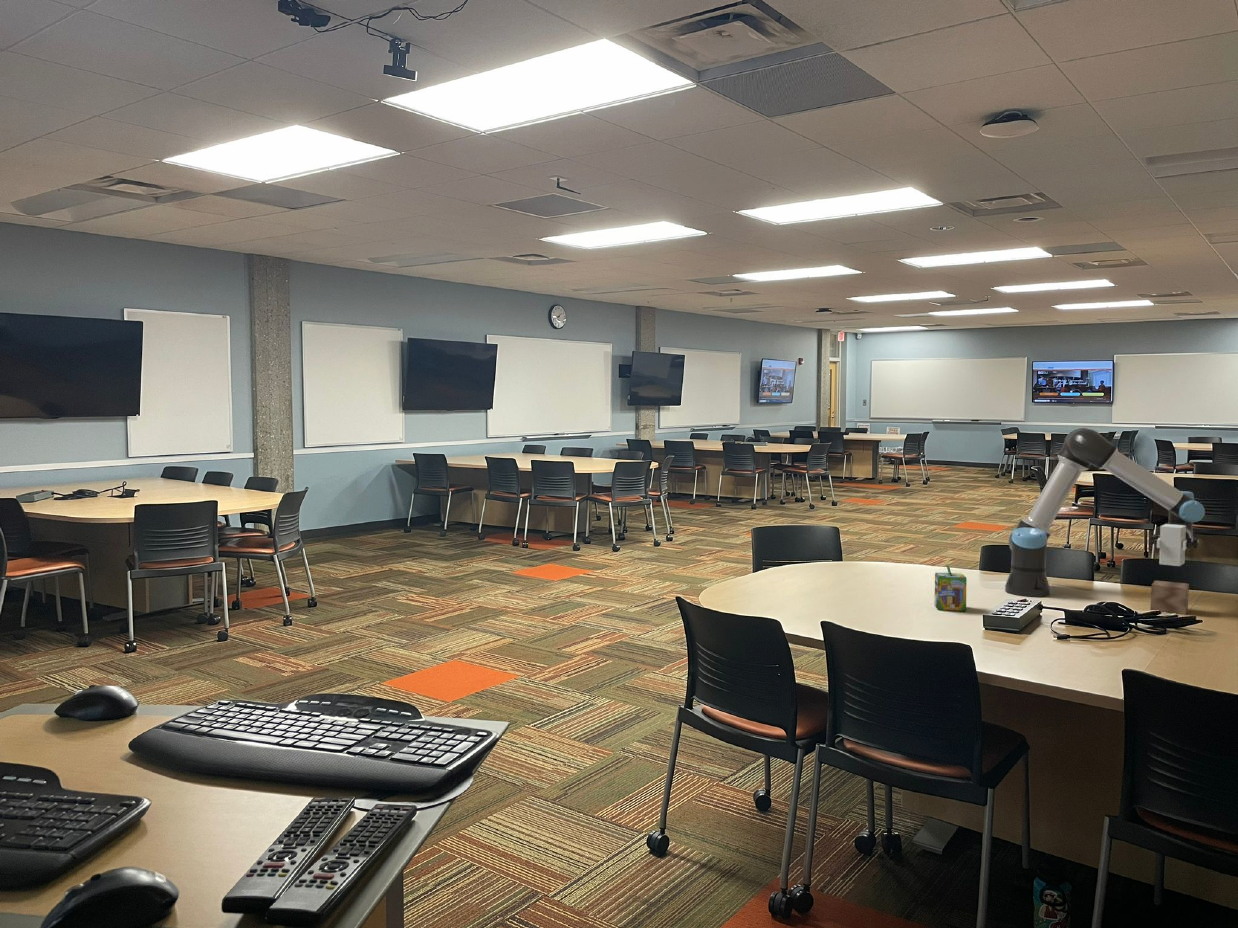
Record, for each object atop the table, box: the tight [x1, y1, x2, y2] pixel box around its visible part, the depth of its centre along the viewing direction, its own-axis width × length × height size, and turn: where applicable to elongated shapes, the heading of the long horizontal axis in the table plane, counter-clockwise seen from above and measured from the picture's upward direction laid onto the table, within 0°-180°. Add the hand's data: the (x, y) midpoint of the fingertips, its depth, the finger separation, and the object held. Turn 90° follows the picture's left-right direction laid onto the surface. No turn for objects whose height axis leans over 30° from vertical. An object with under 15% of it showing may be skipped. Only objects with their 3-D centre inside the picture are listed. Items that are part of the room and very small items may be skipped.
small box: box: [1158, 523, 1186, 567], centre depth 306 cm, size 8×6×13 cm
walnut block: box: [1149, 579, 1190, 616], centre depth 307 cm, size 10×10×9 cm
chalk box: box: [933, 563, 967, 612], centre depth 306 cm, size 9×9×15 cm
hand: (1171, 544), depth 302 cm, fingers closed on small box, 7 cm apart
